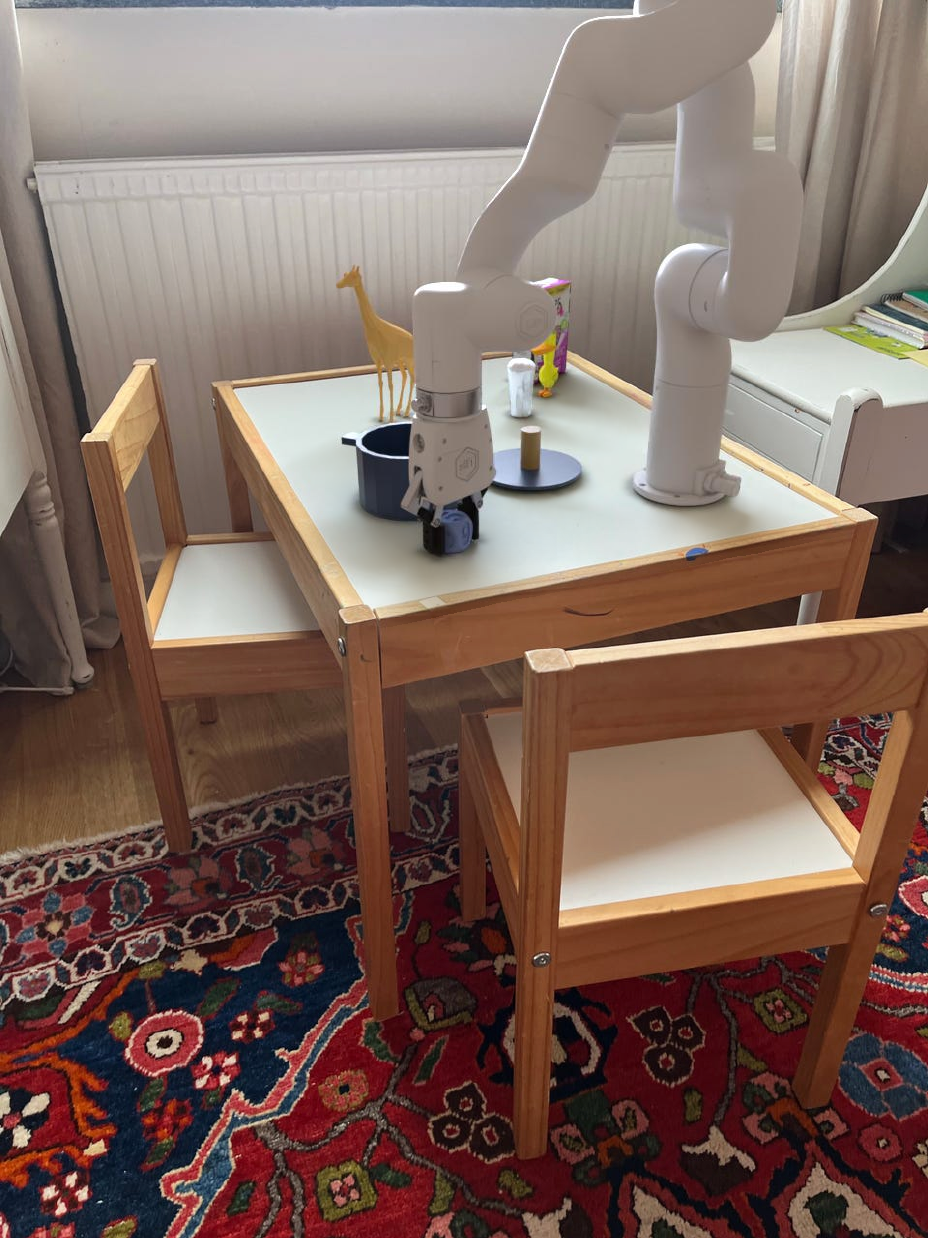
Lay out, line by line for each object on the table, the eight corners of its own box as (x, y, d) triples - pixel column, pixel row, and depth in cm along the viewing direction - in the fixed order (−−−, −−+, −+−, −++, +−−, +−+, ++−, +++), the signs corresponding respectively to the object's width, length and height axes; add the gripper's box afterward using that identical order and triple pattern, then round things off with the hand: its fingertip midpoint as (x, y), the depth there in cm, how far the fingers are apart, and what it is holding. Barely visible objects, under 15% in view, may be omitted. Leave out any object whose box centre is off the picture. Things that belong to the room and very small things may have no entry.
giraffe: (359, 438, 151) (347, 271, 138) (339, 432, 153) (325, 267, 140) (427, 410, 161) (423, 253, 149) (408, 405, 164) (401, 250, 151)
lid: (560, 501, 129) (562, 454, 126) (461, 484, 135) (461, 438, 131) (594, 463, 141) (597, 419, 137) (502, 449, 146) (503, 406, 143)
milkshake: (537, 419, 157) (538, 358, 152) (504, 418, 158) (505, 357, 153) (540, 410, 161) (542, 350, 156) (509, 409, 162) (509, 349, 157)
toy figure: (538, 401, 165) (540, 330, 159) (523, 397, 167) (525, 326, 161) (565, 393, 169) (568, 323, 163) (550, 388, 171) (552, 319, 165)
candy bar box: (533, 385, 173) (535, 291, 164) (510, 380, 175) (512, 287, 167) (568, 371, 180) (572, 279, 172) (546, 366, 183) (549, 276, 174)
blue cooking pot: (452, 531, 122) (451, 468, 117) (323, 506, 129) (318, 446, 124) (495, 492, 132) (495, 432, 128) (374, 470, 139) (370, 413, 135)
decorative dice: (444, 536, 121) (443, 507, 119) (473, 542, 119) (473, 512, 117) (429, 549, 118) (428, 519, 115) (458, 555, 116) (458, 525, 114)
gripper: (415, 426, 101) (421, 578, 111) (524, 389, 112) (521, 531, 121) (369, 409, 106) (378, 557, 115) (477, 375, 116) (478, 514, 126)
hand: (451, 542), depth 118 cm, fingers closed on decorative dice, 5 cm apart
